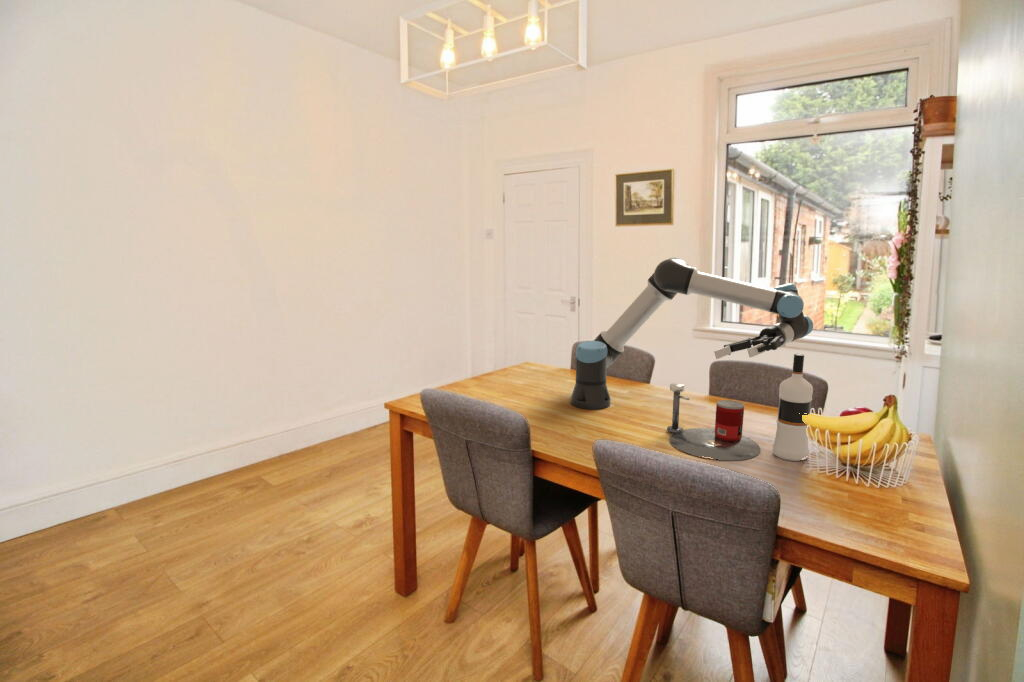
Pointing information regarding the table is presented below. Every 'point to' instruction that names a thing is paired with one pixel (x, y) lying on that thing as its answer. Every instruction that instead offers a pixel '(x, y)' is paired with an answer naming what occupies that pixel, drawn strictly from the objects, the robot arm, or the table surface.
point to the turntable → (714, 445)
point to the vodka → (793, 414)
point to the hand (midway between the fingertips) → (731, 354)
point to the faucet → (676, 407)
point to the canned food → (729, 420)
